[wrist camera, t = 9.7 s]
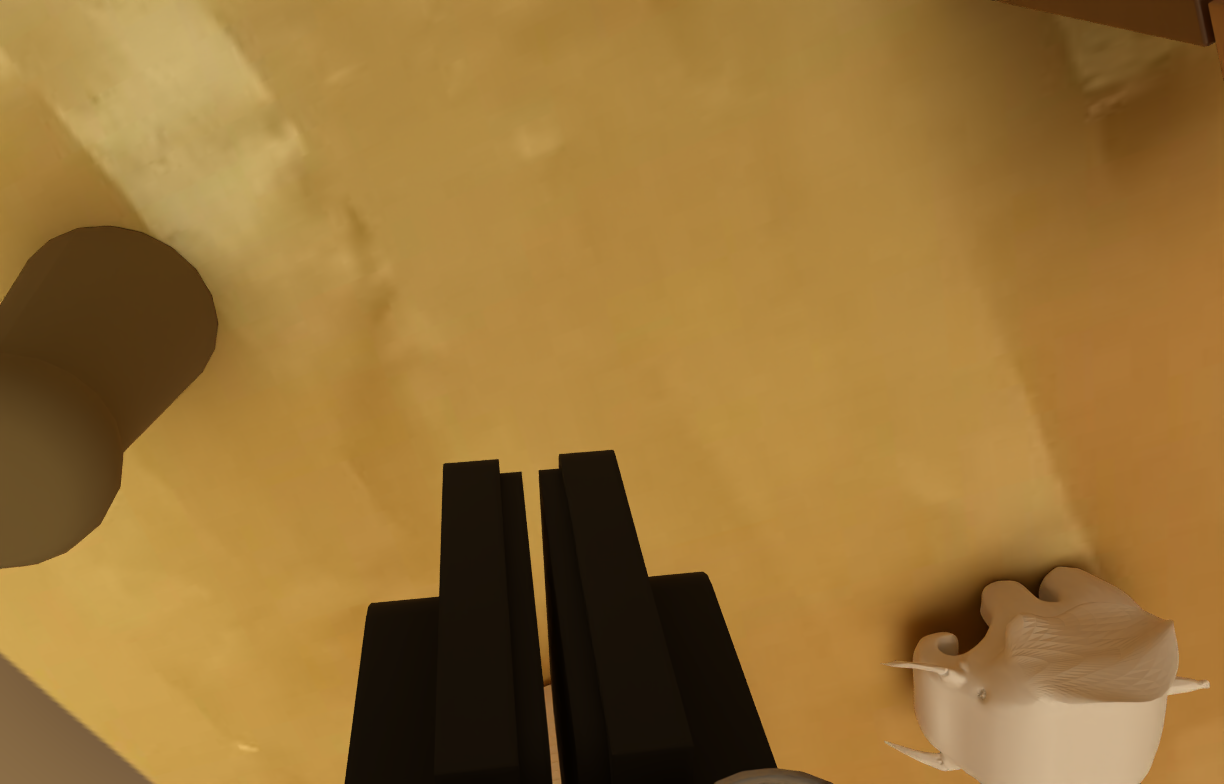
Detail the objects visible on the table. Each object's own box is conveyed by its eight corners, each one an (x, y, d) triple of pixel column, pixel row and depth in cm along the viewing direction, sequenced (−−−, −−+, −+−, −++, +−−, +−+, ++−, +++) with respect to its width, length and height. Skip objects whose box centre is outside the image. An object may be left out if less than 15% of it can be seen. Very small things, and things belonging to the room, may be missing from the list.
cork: (222, 406, 35) (127, 611, 25) (28, 398, 34) (-150, 608, 24) (213, 232, 32) (103, 385, 22) (2, 218, 31) (-208, 371, 22)
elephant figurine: (855, 569, 41) (947, 732, 33) (1144, 510, 42) (1303, 657, 34) (864, 744, 46) (948, 926, 38) (1126, 689, 46) (1263, 856, 38)
